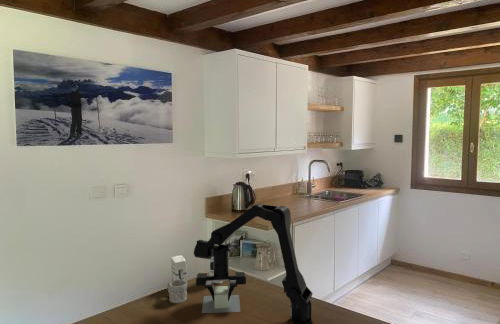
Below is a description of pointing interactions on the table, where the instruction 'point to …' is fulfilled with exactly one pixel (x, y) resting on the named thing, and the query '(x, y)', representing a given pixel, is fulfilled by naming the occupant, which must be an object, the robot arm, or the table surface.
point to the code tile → (232, 307)
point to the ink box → (179, 268)
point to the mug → (177, 291)
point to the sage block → (221, 297)
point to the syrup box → (211, 272)
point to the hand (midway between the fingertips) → (221, 300)
